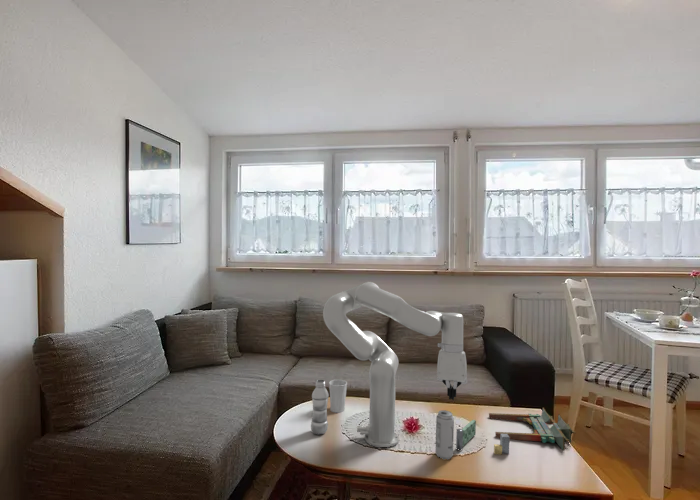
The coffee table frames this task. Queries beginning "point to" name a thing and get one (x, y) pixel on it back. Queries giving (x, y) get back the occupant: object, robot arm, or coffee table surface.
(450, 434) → the energy drink can
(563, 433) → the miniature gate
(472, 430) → the gate
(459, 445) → the hinge post
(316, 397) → the plastic bottle
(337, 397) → the cup
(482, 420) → the coffee table surface
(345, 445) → the coffee table surface
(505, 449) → the grey and yellow block
